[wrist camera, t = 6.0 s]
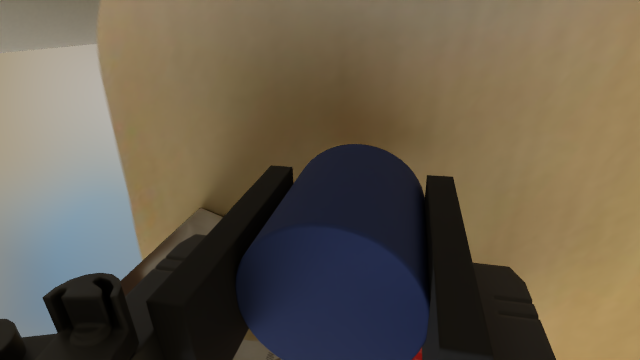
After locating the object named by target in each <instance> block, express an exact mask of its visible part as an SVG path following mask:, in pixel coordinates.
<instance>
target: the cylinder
mask: <svg viewBox="0 0 640 360" xmlns="http://www.w3.org/2000/svg"><path fill="white" fill-rule="evenodd" d="M235 289H236V296H237V302H238V307H239V310H240V312H241V315H242V317H243V319H244V321H245V323H246V324H247V326H248V327H249V329H250V330H251V332H252V333H253V334H254V336H255V337H256V338H257V339H258V340H259V341H260V342H261V343H262V344H263V345H264V346H265V347H266V348H267V349H268V350H269V351H271V352H272V353H273V354H275V355H276V356H277V357H279V358H280V359H282V360H412V359H413V358H414V357H415V356H416V355H417V354H418V353H419V351H420V349H421V348H422V346H423V345H424V343H425V341H426V336H427V328H428V319H429V310H430V292H429V274H428V255H427V236H426V217H425V198H424V193H423V190H422V187H421V185H420V183H419V180H418V179H417V177H416V176H415V174H414V173H413V171H412V170H411V169H410V168H409V167H408V166H407V165H406V164H405V163H404V162H403V161H402V160H401V159H399V158H398V157H396V156H395V155H393V154H391V153H389V152H387V151H385V150H383V149H380V148H377V147H374V146H369V145H362V144H347V145H340V146H337V147H333V148H330V149H328V150H326V151H324V152H322V153H320V154H319V155H317V156H316V157H315V158H313V159H312V160H311V161H310V162H309V163H308V164H307V165H306V167H305V168H304V169H303V171H302V172H301V174H300V175H299V177H298V178H297V179H296V181H295V182H294V184H293V185H292V187H291V188H290V189H289V191H288V192H287V194H286V195H285V197H284V198H283V199H282V201H281V202H280V204H279V205H278V207H277V208H276V210H275V211H274V212H273V214H272V215H271V217H270V218H269V220H268V221H267V222H266V224H265V225H264V227H263V228H262V230H261V231H260V232H259V234H258V235H257V237H256V238H255V240H254V241H253V242H252V244H251V245H250V247H249V248H248V250H247V251H246V253H245V254H244V256H243V257H242V259H241V261H240V264H239V266H238V270H237V274H236V283H235Z"/></svg>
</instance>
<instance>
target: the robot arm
mask: <svg viewBox="0 0 640 360" xmlns="http://www.w3.org/2000/svg"><path fill="white" fill-rule="evenodd" d="M292 185H293V169H292V167H285V166H270V167H269V168H268V169H267V170H266V172H265V173H264V174H263V175H262V176H261V177H260V178H259V179H258V180H257V181H256V182H255V183H254V185H253V186H252V187H251V188H250V189H249V190H248V191H247V192H246V193H245V194H244V195H243V196H242V198H241V199H240V200H239V201H238V202H237V203H236V204H235V205H234V206H233V207H232V208H231V209H230V210H229V212H228V213H227V214H226V215H225V216H224V217H223V218H222V219H221V220H220V221H219V222H218V223H217V225H216V226H215V227H214V228H213V229H212V230H211V231H210V232H209V233H208V234H207V235H200V234H195V235H193V236H191V237H189V238H188V239H186V240H184V241H182V242H181V243H179V244H178V245H177V246H176V247H175V248H174V249H173V250H172V251H171V252H169V253H168V254H167V255H166V258H165V259H164V258H163V259H162V260H161V261H160V262H159V263H158V264H157V265H156V268H155V269H152V270H151V271H150V272H149V273H148V274H147V275H146V276H145V277H144V278H143V279H142V280H141V281H140V282H139V283H138V284H137V285H136V286H135V287H134V288H133V289H132V290H131V291H130V292H129V293H128V294H127V295H126V296H125V295H124V292H123V289H122V286H121V283H120V280H119V279H118V278H117V277H115V276H114V275H112V274H106V273H95V274H88V275H84V276H80V277H78V278H74V279H71V280H69V281H67V282H65V283H63V284H61V285H59V286H58V287H55V288H54V289H53V290H51V291H50V292H49V293H48V294H46V295H45V296H44V297H43V300H44V302H45V304H46V307H47V309H48V311H49V314H50V316H51V318H52V321H53V323H54V325H55V327H56V330H57V332H58V333H57V334H50V335H41V336H32V337H23V338H21V336H20V334H19V332H18V330H17V328H16V326H15V324H14V323H13V322H11V321H9V320H7V319H0V360H233V358H234V356H235V354H236V353H237V351H238V349H239V347H240V345H241V343H242V341H243V339H244V337H245V335H246V333H247V331H248V329H249V327H248V326H247V324H246V323H245V321H244V319H243V317H242V315H241V312H240V310H239V307H238V302H237V296H236V289H235V283H236V274H237V270H238V266H239V264H240V261H241V259H242V257H243V256H244V254H245V253H246V251H247V250H248V248H249V247H250V245H251V244H252V242H253V241H254V240H255V238H256V237H257V235H258V234H259V232H260V231H261V230H262V228H263V227H264V225H265V224H266V222H267V221H268V220H269V218H270V217H271V215H272V214H273V212H274V211H275V210H276V208H277V207H278V205H279V204H280V202H281V201H282V199H283V198H284V197H285V195H286V194H287V192H288V191H289V189H290V188H291V187H292ZM425 217H426V236H427V255H428V274H429V292H430V310H429V319H428V328H427V336H426V341H425V343H424V345H423V346H422V360H556V358H555V356H554V353H553V351H552V348H551V346H550V343H549V341H548V338H547V336H546V333H545V331H544V329H543V326H542V324H541V321H540V320H539V319H538V314H537V311H536V309H535V306H534V304H532V299H531V296H530V294H529V291H528V289H527V286H526V284H525V282H524V281H523V280H522V279H521V278H520V277H519V276H518V275H517V274H516V273H515V272H514V271H513V270H512V269H511V268H510V267H506V266H497V265H488V264H479V263H472V258H471V254H470V250H469V245H468V241H467V236H466V232H465V228H464V223H463V219H462V214H461V210H460V206H459V201H458V197H457V192H456V188H455V184H454V179H453V177H448V176H431V175H427V181H426V191H425Z"/></svg>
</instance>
